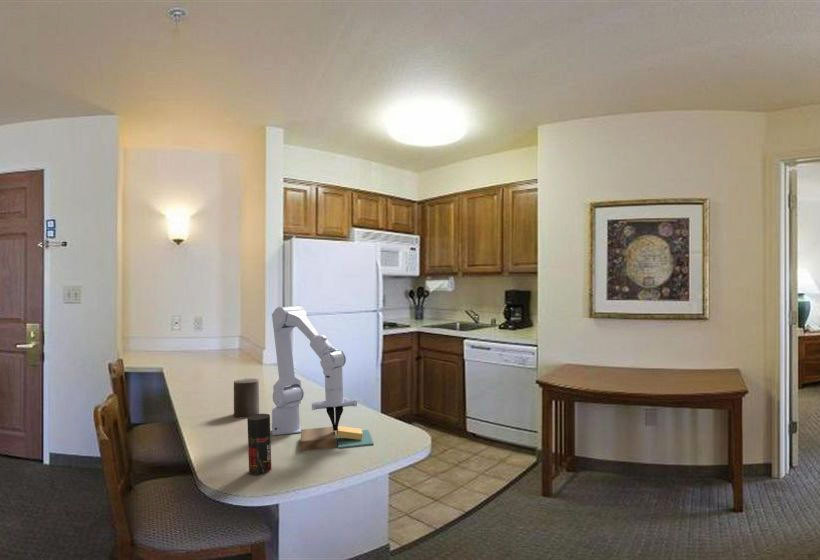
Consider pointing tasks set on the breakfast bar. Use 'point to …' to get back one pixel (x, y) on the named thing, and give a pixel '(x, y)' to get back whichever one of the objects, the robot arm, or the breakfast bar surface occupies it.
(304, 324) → the robot arm
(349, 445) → the mat
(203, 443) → the breakfast bar surface
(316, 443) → the brown flat block
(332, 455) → the breakfast bar surface
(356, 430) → the tile
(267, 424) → the deodorant
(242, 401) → the pillar candle
